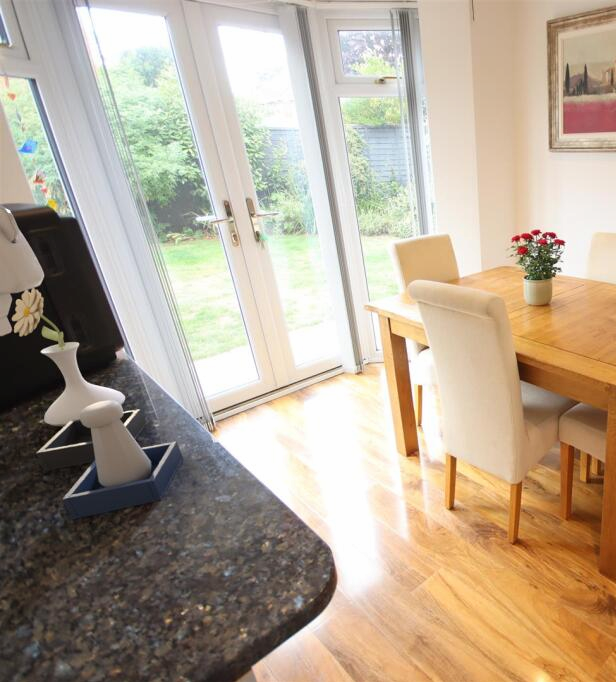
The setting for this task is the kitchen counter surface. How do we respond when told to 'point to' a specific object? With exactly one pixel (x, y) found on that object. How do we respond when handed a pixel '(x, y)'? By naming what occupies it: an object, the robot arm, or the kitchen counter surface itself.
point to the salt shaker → (114, 445)
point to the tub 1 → (81, 442)
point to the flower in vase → (61, 364)
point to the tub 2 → (124, 485)
